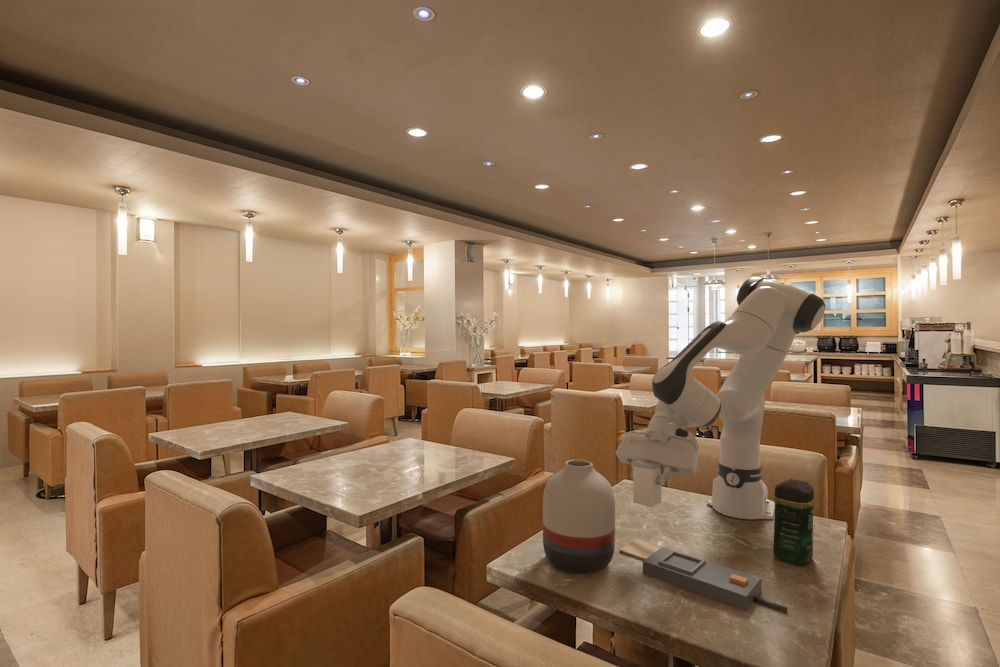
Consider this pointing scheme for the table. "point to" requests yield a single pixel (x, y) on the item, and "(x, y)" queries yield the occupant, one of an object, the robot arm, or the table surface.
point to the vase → (579, 519)
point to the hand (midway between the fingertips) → (646, 481)
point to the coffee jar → (793, 522)
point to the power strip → (706, 579)
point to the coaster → (640, 549)
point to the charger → (646, 482)
